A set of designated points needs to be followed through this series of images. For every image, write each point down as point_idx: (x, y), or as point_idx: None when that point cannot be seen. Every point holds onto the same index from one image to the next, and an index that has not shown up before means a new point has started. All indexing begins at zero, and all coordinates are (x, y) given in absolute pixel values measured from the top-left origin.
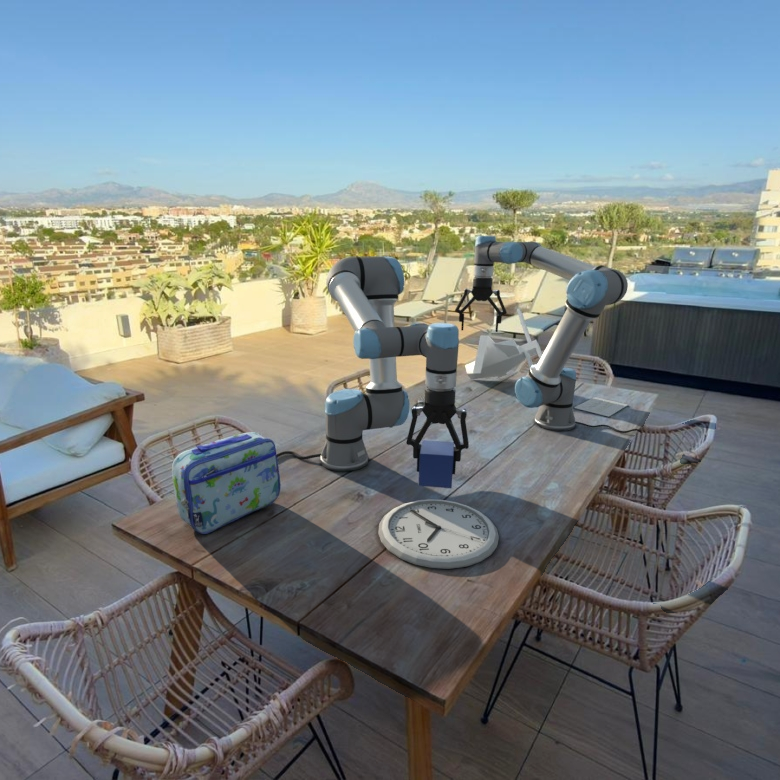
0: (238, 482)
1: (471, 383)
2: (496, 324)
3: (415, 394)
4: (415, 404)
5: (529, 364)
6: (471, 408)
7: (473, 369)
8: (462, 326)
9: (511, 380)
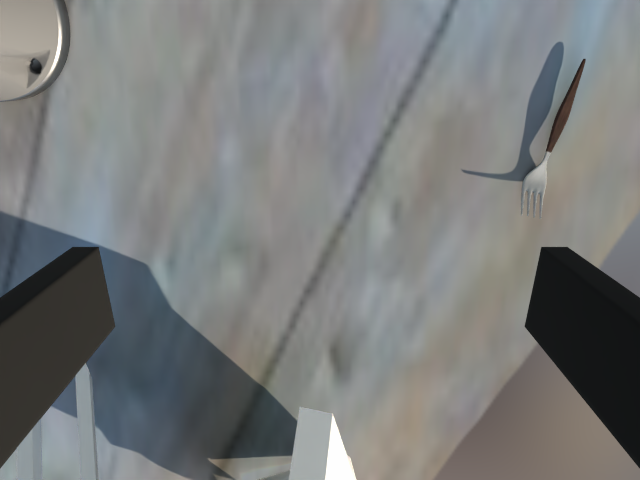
0: None
1: None
2: (27, 300)
3: None
4: (563, 121)
5: (89, 474)
6: (329, 146)
7: (329, 430)
8: (586, 271)
9: (196, 472)
